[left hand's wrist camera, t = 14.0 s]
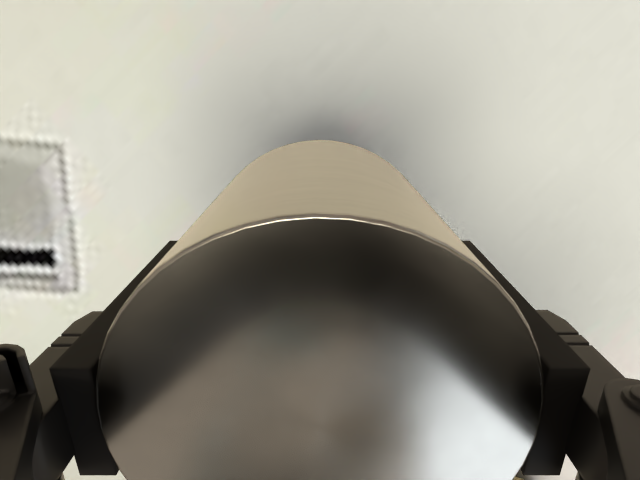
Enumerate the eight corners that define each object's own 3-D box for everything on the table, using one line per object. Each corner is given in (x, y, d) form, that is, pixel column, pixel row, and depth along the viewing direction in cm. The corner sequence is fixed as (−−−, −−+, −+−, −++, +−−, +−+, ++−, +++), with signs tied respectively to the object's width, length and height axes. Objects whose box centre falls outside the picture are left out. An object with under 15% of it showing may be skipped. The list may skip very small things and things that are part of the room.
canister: (420, 340, 17) (509, 566, 9) (222, 343, 18) (138, 570, 9) (437, 137, 14) (591, 208, 6) (197, 142, 14) (39, 219, 6)
